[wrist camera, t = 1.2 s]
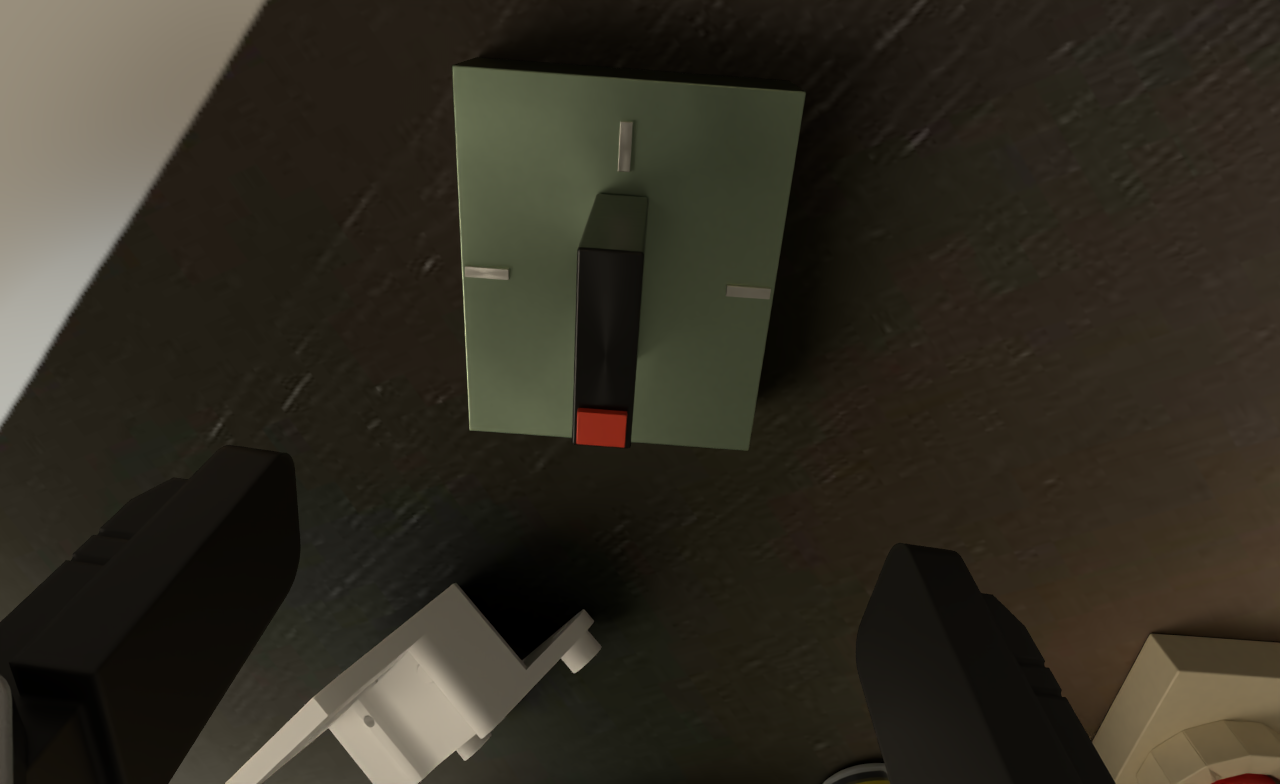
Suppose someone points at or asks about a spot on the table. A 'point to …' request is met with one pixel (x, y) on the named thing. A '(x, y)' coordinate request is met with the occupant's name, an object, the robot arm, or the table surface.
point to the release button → (1246, 779)
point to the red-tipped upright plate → (608, 320)
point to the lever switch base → (675, 241)
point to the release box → (1195, 713)
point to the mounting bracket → (423, 693)
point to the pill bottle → (861, 775)
